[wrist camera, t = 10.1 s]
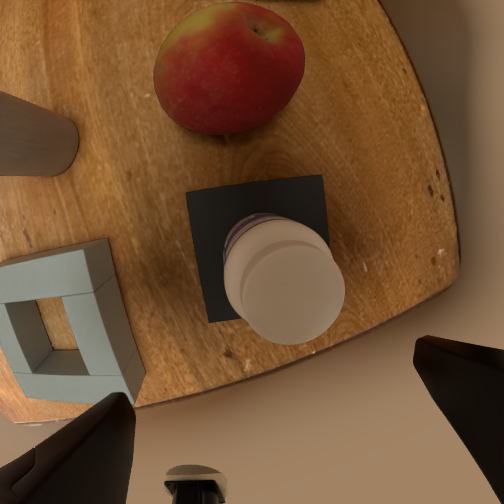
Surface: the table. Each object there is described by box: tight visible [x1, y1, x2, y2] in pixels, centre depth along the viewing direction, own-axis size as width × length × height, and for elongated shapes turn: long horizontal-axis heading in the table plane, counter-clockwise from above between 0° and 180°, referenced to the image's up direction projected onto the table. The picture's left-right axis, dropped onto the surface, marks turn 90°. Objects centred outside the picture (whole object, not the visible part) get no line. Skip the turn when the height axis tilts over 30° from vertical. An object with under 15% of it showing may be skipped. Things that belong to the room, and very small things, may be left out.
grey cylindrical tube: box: [0, 91, 79, 177], centre depth 12 cm, size 4×4×10 cm
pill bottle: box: [223, 213, 345, 345], centre depth 15 cm, size 5×5×9 cm
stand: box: [0, 238, 146, 404], centre depth 17 cm, size 11×11×4 cm
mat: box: [186, 175, 330, 323], centre depth 19 cm, size 9×9×1 cm
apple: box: [153, 2, 305, 135], centre depth 13 cm, size 8×8×8 cm
